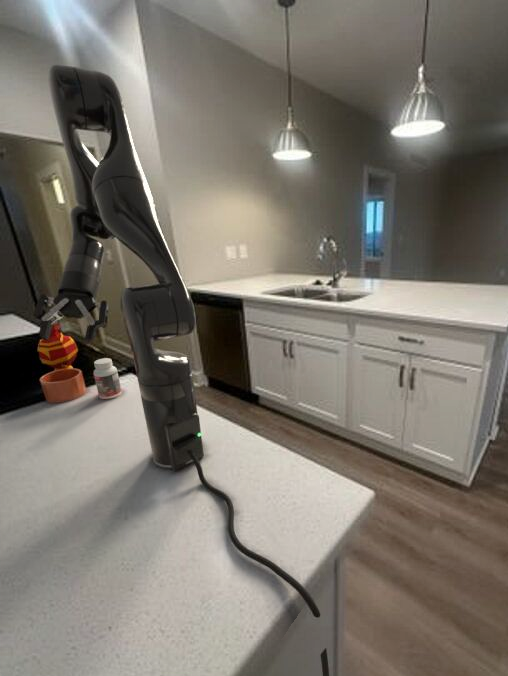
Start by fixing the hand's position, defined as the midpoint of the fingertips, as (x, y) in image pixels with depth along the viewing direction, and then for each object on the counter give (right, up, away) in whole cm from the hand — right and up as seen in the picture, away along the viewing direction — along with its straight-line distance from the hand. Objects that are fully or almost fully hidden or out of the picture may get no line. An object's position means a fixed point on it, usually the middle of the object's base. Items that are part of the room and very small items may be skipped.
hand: (66, 340), depth 77 cm
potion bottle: (-21, -8, +30) cm, 37 cm away
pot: (-10, -13, +15) cm, 22 cm away
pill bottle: (+2, -14, +14) cm, 20 cm away
